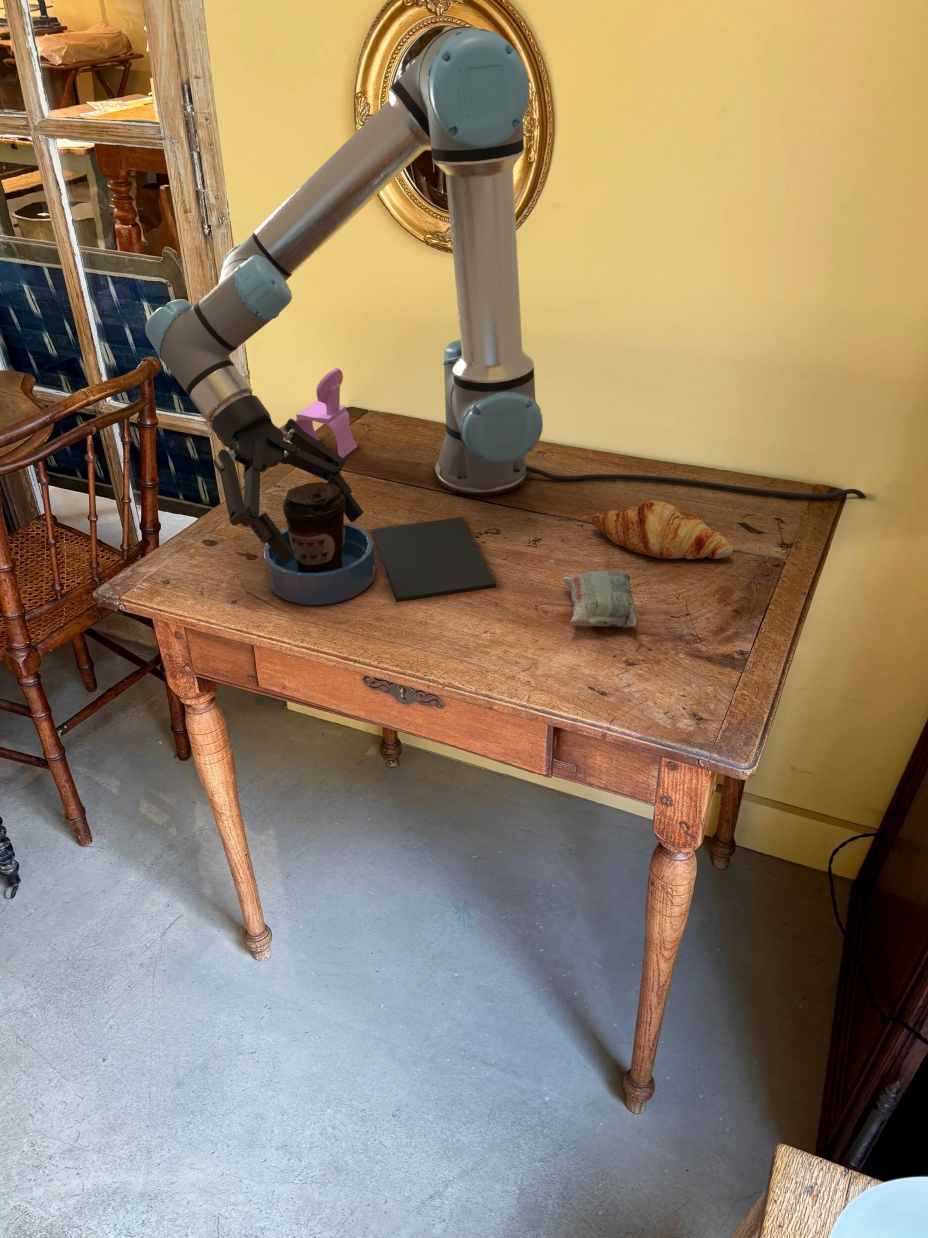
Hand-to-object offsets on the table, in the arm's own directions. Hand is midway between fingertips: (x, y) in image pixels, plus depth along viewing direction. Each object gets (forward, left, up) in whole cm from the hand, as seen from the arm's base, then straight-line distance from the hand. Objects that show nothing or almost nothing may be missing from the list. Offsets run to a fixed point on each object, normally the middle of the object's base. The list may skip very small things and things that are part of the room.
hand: (324, 537), depth 128 cm
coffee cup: (+1, -1, -7) cm, 7 cm away
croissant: (-48, +4, -7) cm, 49 cm away
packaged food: (-33, +18, -7) cm, 38 cm away
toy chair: (-5, -45, -7) cm, 46 cm away
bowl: (+1, -1, -7) cm, 7 cm away
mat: (-15, -2, -7) cm, 17 cm away
